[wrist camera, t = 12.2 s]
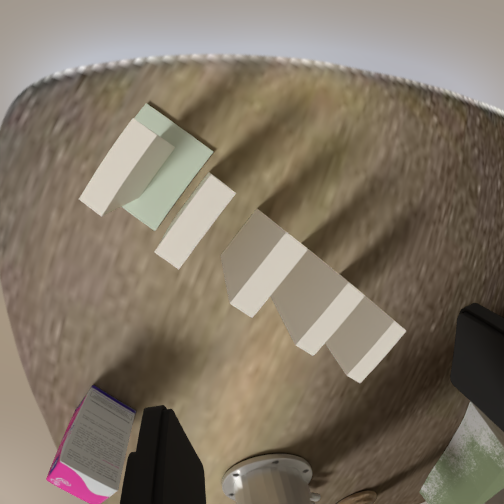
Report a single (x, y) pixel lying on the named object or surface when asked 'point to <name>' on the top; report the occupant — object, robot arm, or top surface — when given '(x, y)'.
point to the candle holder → (360, 498)
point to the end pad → (167, 169)
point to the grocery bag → (467, 465)
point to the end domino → (126, 169)
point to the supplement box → (93, 448)
